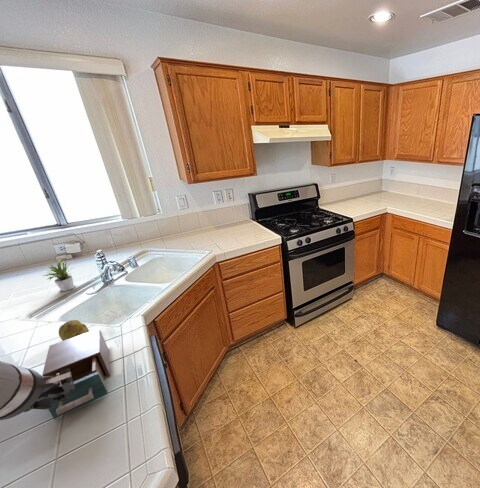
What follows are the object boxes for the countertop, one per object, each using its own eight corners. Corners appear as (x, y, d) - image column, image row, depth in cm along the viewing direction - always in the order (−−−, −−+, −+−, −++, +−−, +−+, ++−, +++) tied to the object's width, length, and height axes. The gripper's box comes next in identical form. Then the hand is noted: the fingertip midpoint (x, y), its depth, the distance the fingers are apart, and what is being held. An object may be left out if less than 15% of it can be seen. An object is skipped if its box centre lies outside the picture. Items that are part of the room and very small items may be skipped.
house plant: (49, 288, 142) (36, 261, 137) (82, 279, 151) (71, 253, 145) (47, 298, 132) (33, 269, 127) (83, 287, 141) (71, 260, 135)
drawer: (108, 404, 73) (98, 383, 70) (52, 432, 66) (38, 410, 63) (106, 365, 87) (98, 346, 84) (59, 384, 80) (48, 365, 77)
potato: (64, 357, 92) (55, 338, 89) (63, 340, 101) (55, 323, 98) (94, 344, 98) (87, 327, 95) (91, 329, 106) (83, 313, 103)
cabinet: (110, 375, 83) (99, 352, 80) (56, 399, 76) (42, 374, 73) (108, 349, 95) (99, 327, 91) (61, 368, 87) (49, 345, 84)
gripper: (-80, 453, 35) (9, 439, 53) (71, 387, 44) (103, 394, 62) (-83, 398, 37) (3, 402, 55) (61, 346, 46) (95, 364, 64)
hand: (56, 398), depth 59 cm, fingers open, 2 cm apart
